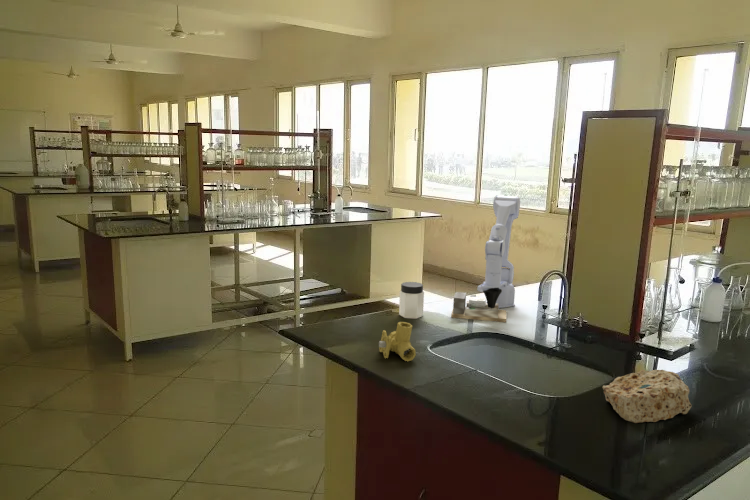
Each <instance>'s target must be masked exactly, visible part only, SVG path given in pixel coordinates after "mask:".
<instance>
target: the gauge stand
mask: <svg viewBox="0 0 750 500" xmlns="http://www.w3.org/2000/svg"><path fill="white" fill-rule="evenodd" d="M466 300H467V292H461V291H456V292H455V293H454V295H453V303H452V304H453V306H452V307H453V308H452V311H451V314H450V318H451V317H452V319H464V320H474V321H475V320H476V321H477V320H478V321H486V322H499V323H507V310H506V309H500V308H498V307H499V304H498V303H496V304H495V307H494V308H489V307H488V304H487V303H486V304H485V309H484V308H473V307H471V308H469V300H467V301H466Z"/></svg>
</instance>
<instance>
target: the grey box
mask: <svg viewBox="0 0 750 500" xmlns="http://www.w3.org/2000/svg"><path fill="white" fill-rule="evenodd" d="M468 301H469V308H471V307H473V308H484V309H485V304H486V302H487V300H486V297H479V296H478V297H477V296H469V299H468Z"/></svg>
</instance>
